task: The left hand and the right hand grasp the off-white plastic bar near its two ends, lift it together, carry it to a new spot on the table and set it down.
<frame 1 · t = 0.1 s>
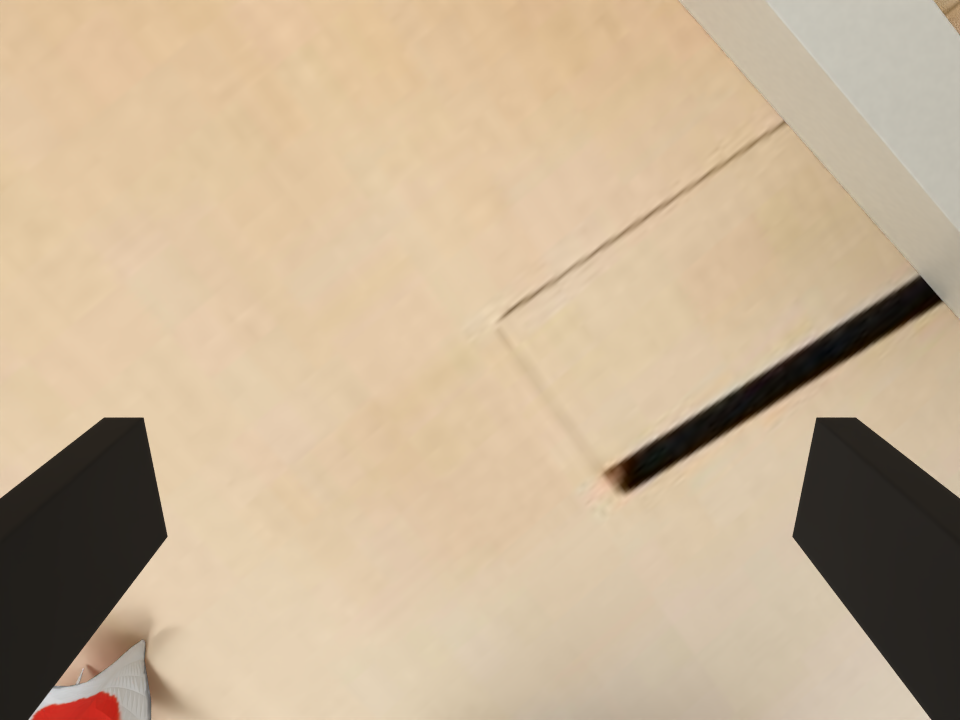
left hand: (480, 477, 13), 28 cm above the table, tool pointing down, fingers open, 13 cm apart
bar: (769, 30, 35), on the table
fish: (96, 678, 51), on the table
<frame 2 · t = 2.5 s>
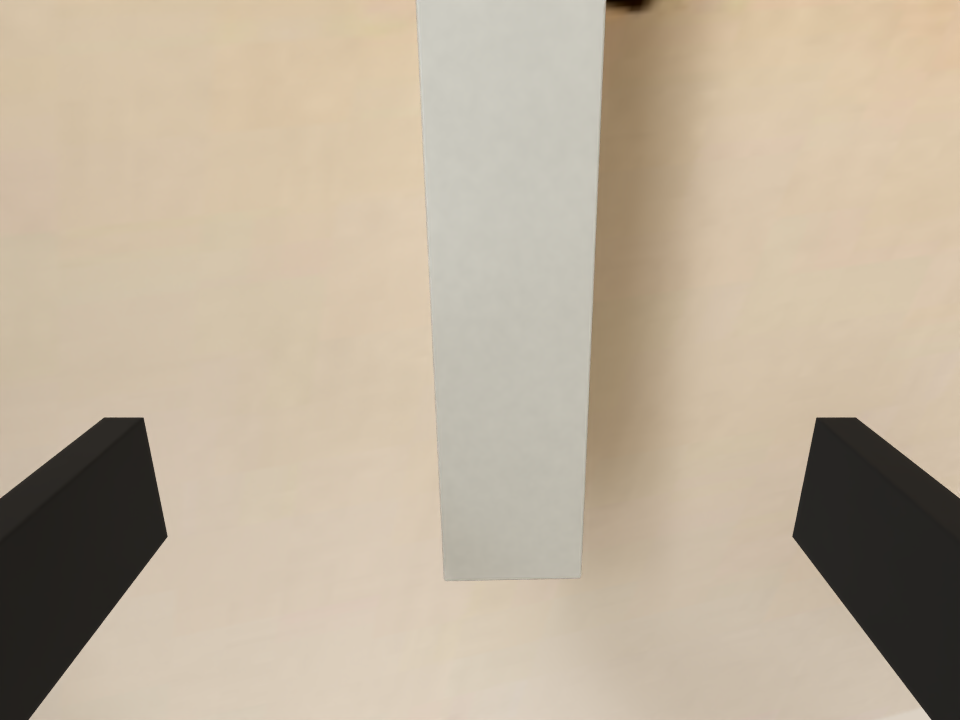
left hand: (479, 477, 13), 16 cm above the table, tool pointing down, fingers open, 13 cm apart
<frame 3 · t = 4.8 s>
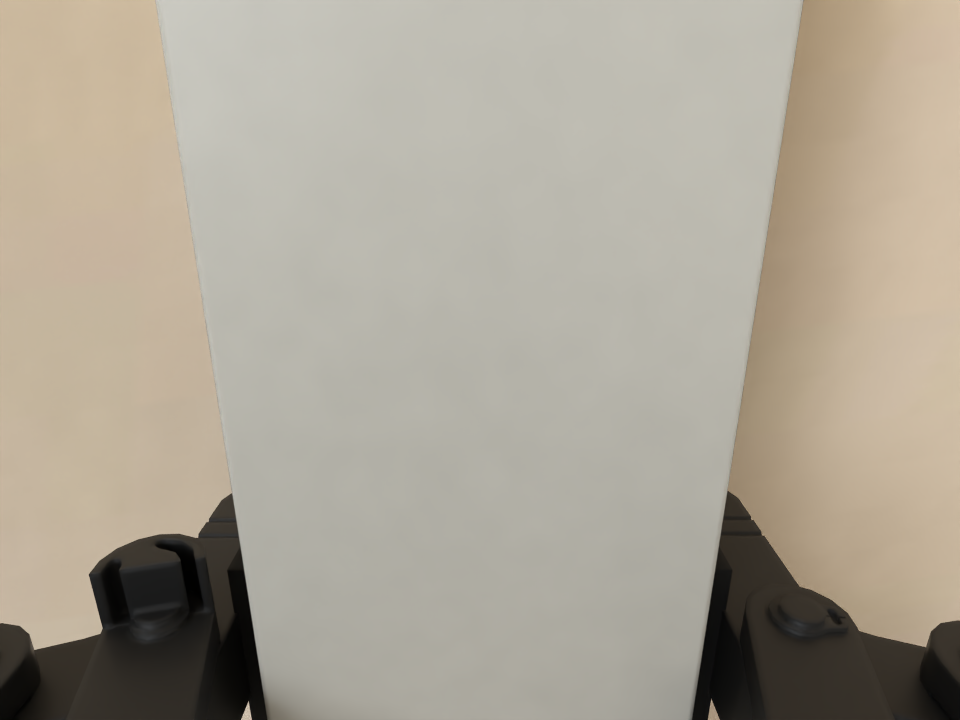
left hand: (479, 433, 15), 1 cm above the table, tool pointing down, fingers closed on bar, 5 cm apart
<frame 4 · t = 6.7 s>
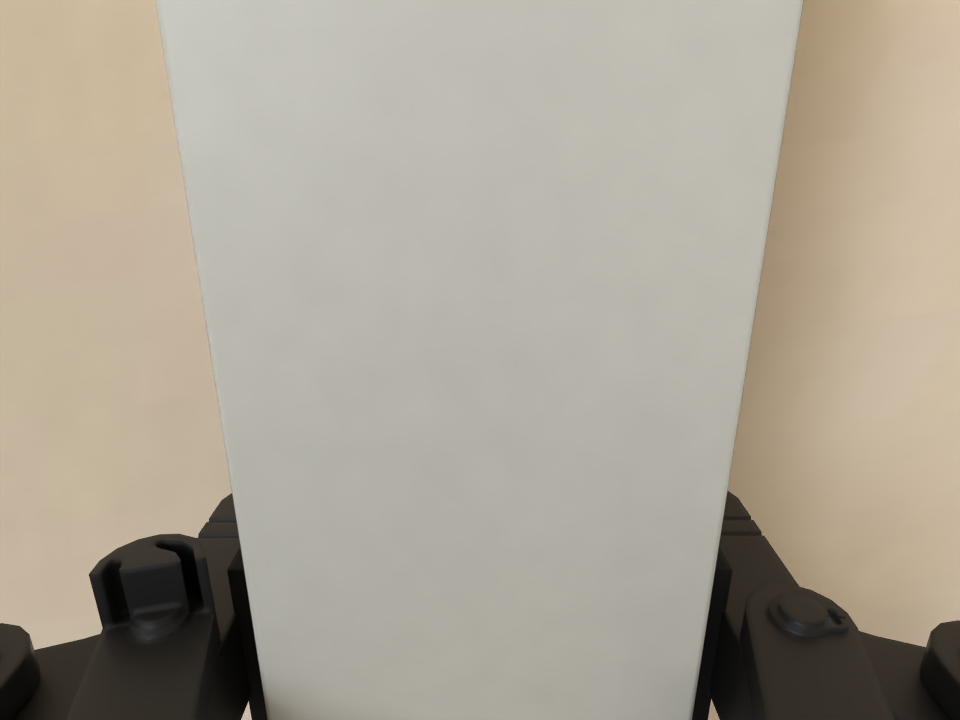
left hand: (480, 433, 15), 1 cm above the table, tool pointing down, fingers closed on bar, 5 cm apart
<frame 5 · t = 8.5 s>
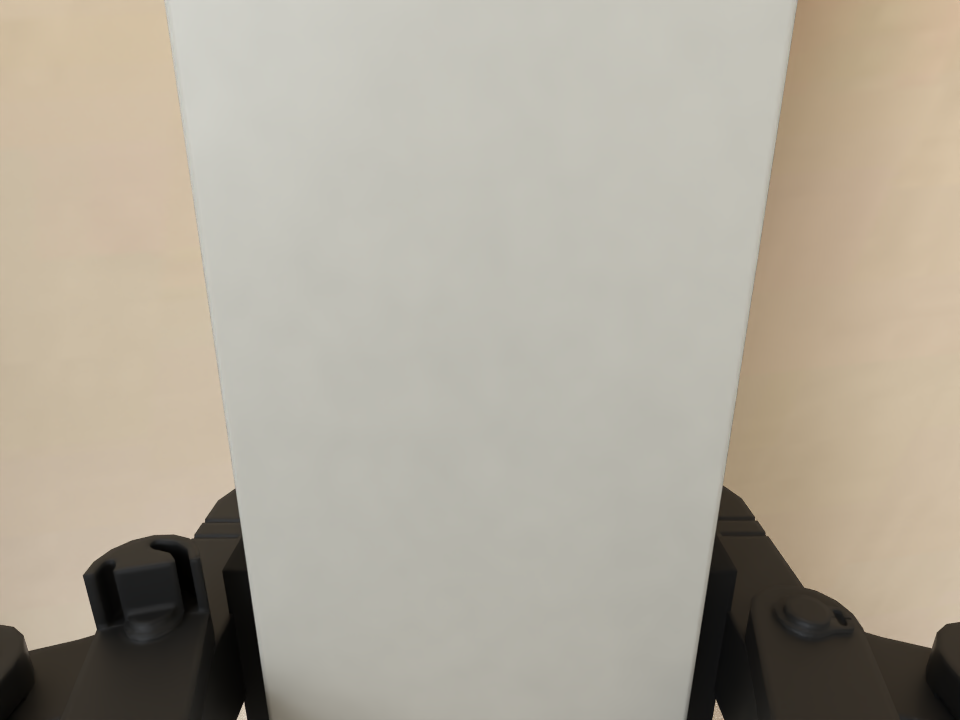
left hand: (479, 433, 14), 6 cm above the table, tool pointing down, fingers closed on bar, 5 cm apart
when the left hand's fingers open (2 cm above the table, at t = 10.0 s): bar drops 1 cm, on the table.
when the right hand's fingers open (5 cm above the table, at t = 10.2 s): bar stays where it is, on the table.
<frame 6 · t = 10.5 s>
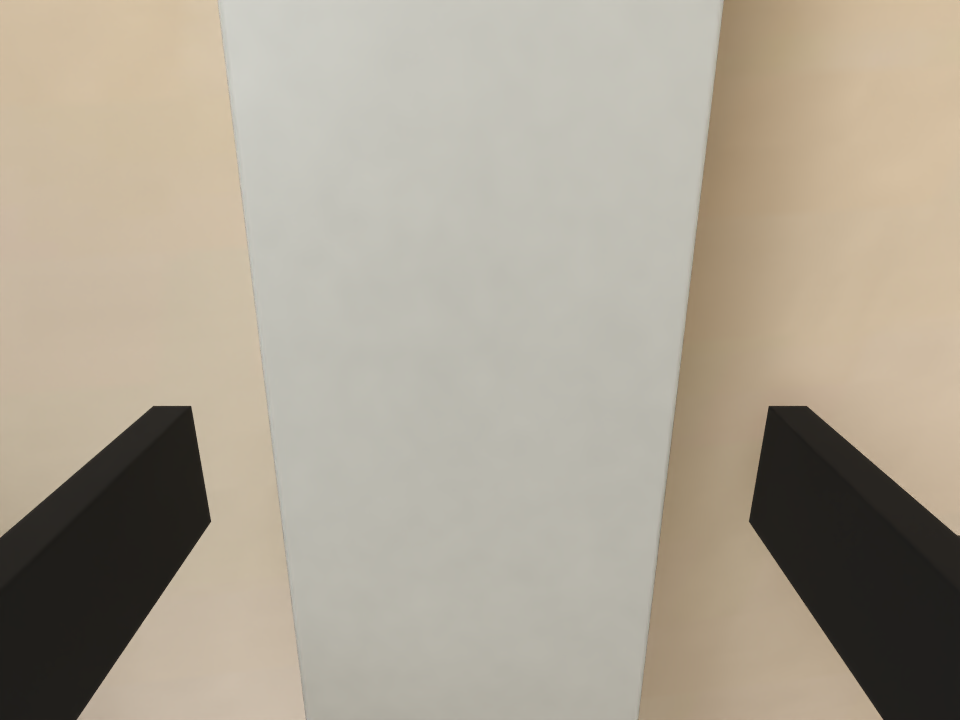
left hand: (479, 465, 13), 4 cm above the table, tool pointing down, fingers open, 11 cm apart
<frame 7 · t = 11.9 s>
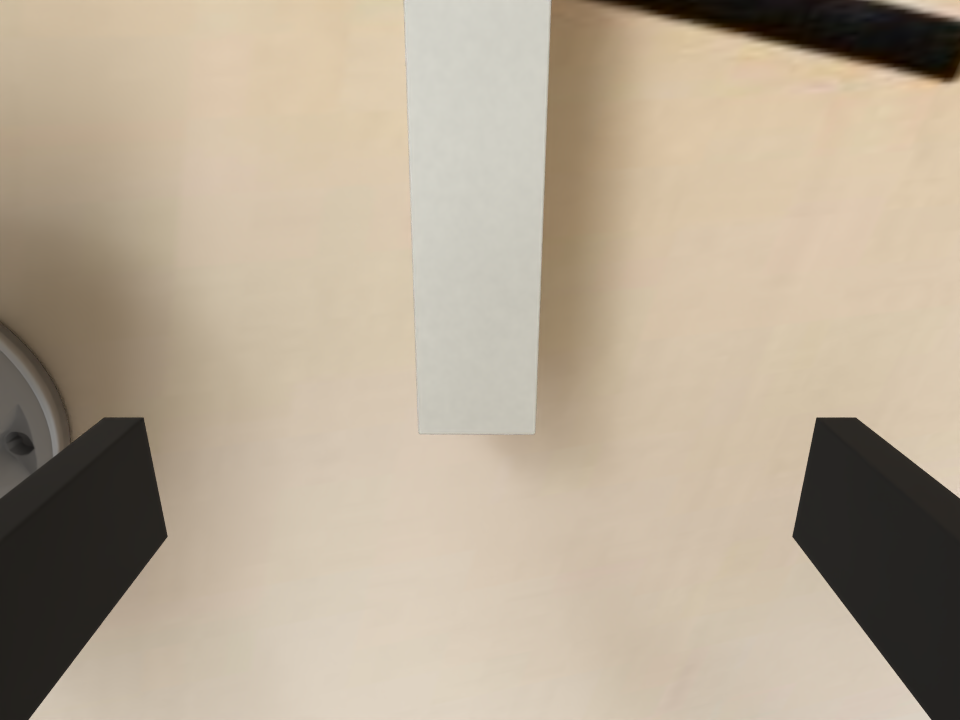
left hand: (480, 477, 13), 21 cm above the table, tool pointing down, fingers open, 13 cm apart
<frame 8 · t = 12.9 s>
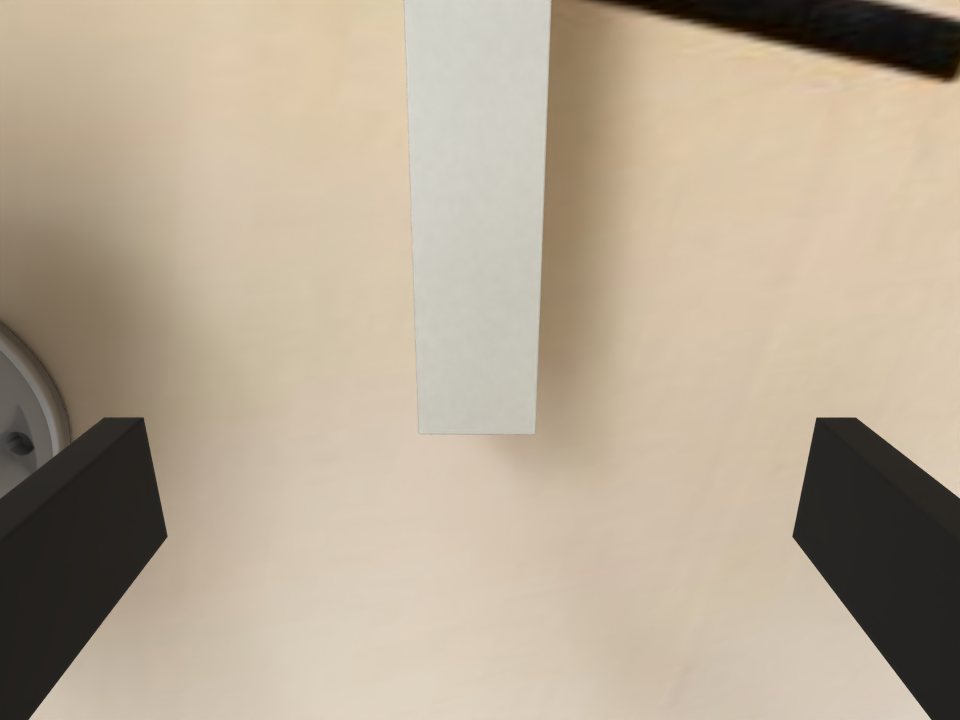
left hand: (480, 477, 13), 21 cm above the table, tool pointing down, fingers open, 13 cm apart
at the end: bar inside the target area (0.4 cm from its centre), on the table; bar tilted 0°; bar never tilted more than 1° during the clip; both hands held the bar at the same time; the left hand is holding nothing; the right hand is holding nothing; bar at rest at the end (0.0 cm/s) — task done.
